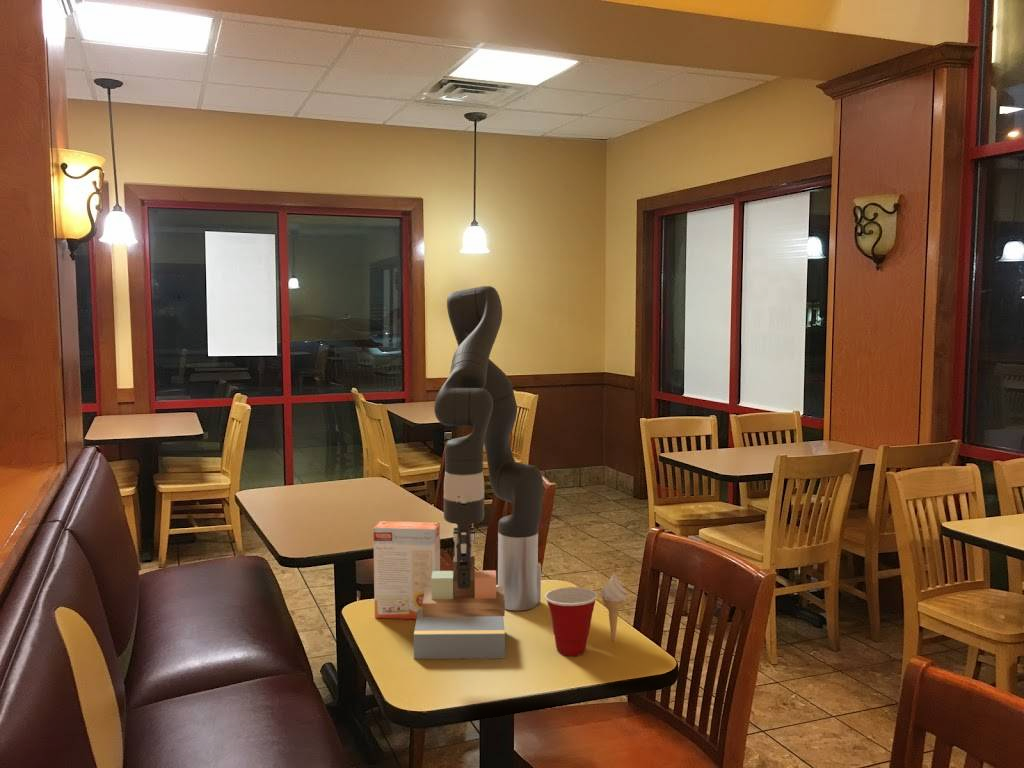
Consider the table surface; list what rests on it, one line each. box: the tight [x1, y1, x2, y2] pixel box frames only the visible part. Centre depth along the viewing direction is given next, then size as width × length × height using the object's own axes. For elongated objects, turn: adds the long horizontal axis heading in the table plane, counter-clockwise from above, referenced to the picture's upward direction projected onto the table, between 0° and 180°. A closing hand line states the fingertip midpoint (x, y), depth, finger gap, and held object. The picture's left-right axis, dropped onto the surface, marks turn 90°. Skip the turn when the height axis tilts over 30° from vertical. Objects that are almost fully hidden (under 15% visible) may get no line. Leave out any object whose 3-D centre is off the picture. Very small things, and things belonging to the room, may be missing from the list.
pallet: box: [423, 555, 506, 617], centre depth 157 cm, size 15×8×10 cm, turn 93°
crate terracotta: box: [475, 569, 497, 599], centre depth 157 cm, size 4×4×4 cm
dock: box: [413, 609, 506, 660], centre depth 172 cm, size 18×13×5 cm
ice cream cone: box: [600, 572, 628, 642], centre depth 174 cm, size 6×6×15 cm
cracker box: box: [373, 520, 441, 620], centre depth 186 cm, size 14×6×21 cm, turn 84°
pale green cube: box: [431, 570, 453, 599], centre depth 156 cm, size 4×4×4 cm
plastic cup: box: [544, 586, 599, 657], centre depth 170 cm, size 11×11×12 cm
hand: (464, 584), depth 157 cm, fingers closed on pallet, 3 cm apart
